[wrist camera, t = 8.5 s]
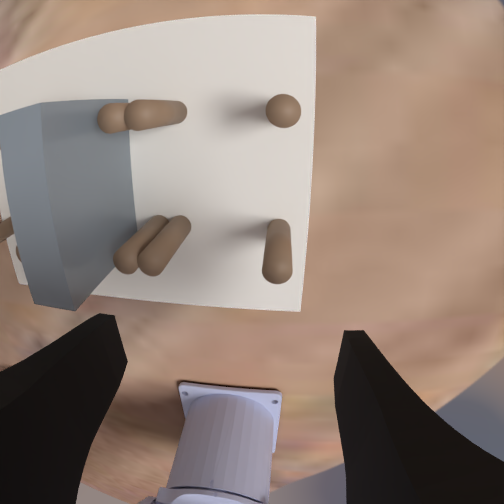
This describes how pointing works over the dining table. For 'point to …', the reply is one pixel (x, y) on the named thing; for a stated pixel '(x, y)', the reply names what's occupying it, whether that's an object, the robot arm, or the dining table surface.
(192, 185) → the peg rack
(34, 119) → the slate grey rectangular block
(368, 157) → the dining table surface
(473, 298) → the dining table surface
